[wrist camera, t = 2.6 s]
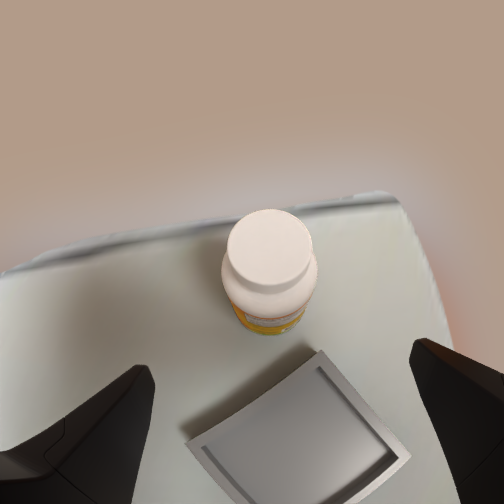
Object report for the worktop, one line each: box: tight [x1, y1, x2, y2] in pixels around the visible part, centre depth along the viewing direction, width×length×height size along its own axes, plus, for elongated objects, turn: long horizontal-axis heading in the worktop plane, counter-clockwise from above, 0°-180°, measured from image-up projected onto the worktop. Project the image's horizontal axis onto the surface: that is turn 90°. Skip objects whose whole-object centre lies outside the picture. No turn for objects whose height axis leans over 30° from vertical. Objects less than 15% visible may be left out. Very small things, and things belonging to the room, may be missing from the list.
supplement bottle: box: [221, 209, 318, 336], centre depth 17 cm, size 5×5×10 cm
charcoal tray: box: [185, 350, 412, 504], centre depth 15 cm, size 12×12×2 cm
